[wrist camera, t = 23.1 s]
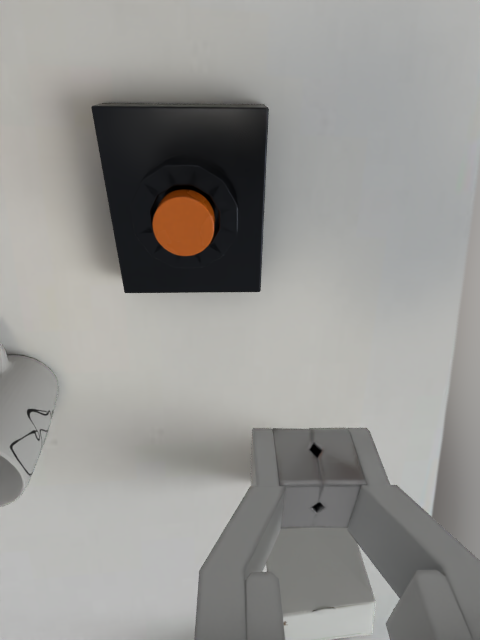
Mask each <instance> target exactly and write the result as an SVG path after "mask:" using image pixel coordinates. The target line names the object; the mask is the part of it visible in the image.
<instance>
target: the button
mask: <svg viewBox="0 0 480 640" xmlns="http://www.w3.org/2000/svg"><path fill="white" fill-rule="evenodd" d="M152 224H153V232H154V235H155V237H156V239H157V241H158V242H159V243H160V245H161V246H162V247H163V248H164V249H166V250H167V251H169V252H171V253H173V254H176V255H180V256H191V255H195V254H198V253H200V252H201V251H203V250H204V249H205V248H206V247H207V246H208V245H209V244H210V242H211V240H212V238H213V235H214V225H215V215H214V211H213V208H212V206H211V204H210V203H209V201H208V200H207V199H206V198H205V197H204V196H203V195H201V194H199V193H198V192H196V191H193V190H188V189H179V190H175V191H172V192H170V193H169V194H167V195H166V196H165V197H164V198H163V199H162V200H161V202H160V203H159V205H158V207H157V210H156V212H155V214H154V217H153V223H152Z"/></svg>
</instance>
